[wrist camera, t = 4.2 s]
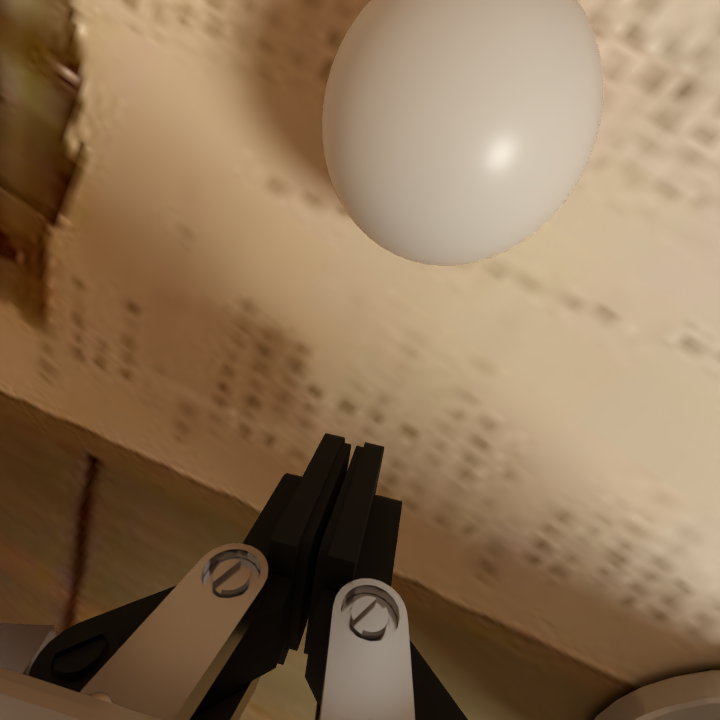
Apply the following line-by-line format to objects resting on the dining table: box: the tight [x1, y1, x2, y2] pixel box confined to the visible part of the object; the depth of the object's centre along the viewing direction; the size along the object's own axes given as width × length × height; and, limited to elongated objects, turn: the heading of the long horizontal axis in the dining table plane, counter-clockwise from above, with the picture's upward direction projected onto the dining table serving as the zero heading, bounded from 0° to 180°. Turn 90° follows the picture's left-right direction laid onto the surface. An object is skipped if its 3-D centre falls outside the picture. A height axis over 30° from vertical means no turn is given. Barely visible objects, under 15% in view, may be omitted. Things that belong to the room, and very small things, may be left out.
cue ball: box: [322, 0, 603, 266], centre depth 9 cm, size 6×6×6 cm
